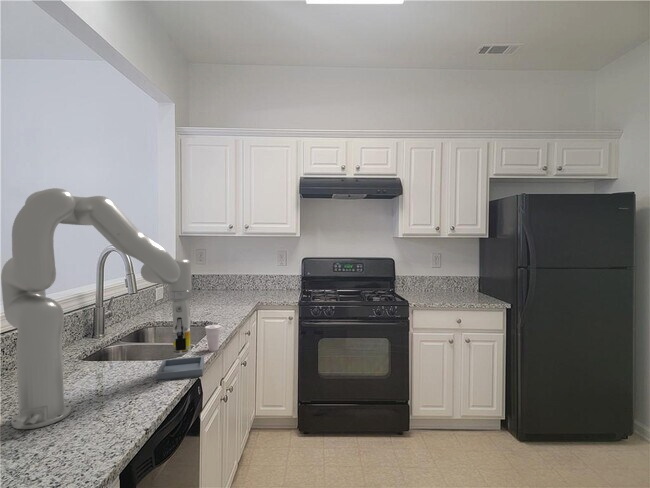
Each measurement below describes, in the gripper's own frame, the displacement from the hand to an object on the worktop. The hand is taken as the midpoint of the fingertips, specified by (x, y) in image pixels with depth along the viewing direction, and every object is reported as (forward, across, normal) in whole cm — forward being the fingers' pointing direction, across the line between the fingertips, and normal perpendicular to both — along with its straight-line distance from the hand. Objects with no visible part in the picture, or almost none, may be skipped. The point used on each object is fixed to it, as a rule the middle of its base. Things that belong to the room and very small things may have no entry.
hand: (181, 346), depth 132 cm
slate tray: (+8, 0, 0) cm, 9 cm away
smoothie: (+9, +22, -10) cm, 26 cm away
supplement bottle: (+2, 0, 0) cm, 2 cm away
